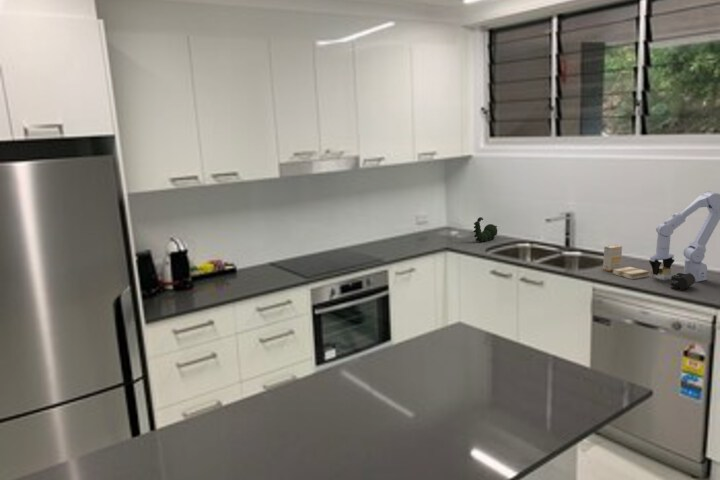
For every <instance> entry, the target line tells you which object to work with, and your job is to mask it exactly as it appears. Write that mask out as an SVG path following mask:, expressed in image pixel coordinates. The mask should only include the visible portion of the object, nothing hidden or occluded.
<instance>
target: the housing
mask: <svg viewBox="0 0 720 480" xmlns="http://www.w3.org/2000/svg"><path fill="white" fill-rule="evenodd" d="M671 273H672V268H671V267H670V268H667V267H663V265H660V267H659V272H658V275H655V274H653V270H652V269H651V272H650V278H654V279H657V280H660V281H667V280H671V278H672V274H671Z"/></svg>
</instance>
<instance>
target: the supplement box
mask: <svg viewBox="0 0 720 480" xmlns="http://www.w3.org/2000/svg"><path fill="white" fill-rule="evenodd" d="M622 253H623V246H622V245H619V244H612V245H604V247H603V265H602V267H603V268H602V270H604V271H608V272H611V271H612V272H613V269H618V268H622V256H623V255H622Z"/></svg>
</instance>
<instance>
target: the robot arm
mask: <svg viewBox="0 0 720 480" xmlns="http://www.w3.org/2000/svg"><path fill="white" fill-rule="evenodd" d="M700 208H707V210H708V215H707V216H706V218H705V220H704V222H703V223H702V226H701V227H700V229H699V231H698V233H697V234H696V236H695V238H694V240H693V241H692V242H690V243H689V244H688V246H687V247H685V248H684V250H683V256H684V257H685V258H684V265H683V274H688V273H691V274H692V275H693V276H694V277H695V282H696V283H697V282H702V281H707V280H708V278H707V273H708V266H707V264H705V263H704V262H702V261H704V259H705V254H706V251H707V248H706V245H707V243H708V241H709V240H710V238H711V237H712V234H713V233H714V230H715V229H716V227H717V226H718V223H719V222H720V193H717V192H712V191H709V190H708V191H704V192H702V193H701V194H700V195H699V196H697V197H696V198H695V200H693V201H692V202H691V203H689V204H688V205H687V206H686V207H685V208H684V209H683V210H682V211H680V212H676V213H672V214H671V216H670V217H669V218H668V219H667V220H664V221H663V223H659V224H658V225H657V227H656V228H655V231H656V233H657V239H656V249H655V254H654V255H653V256H650V258H649V261H648V262H649V264H650V266H651V271H652V270H653V274H655V275H658V272H659V267H660V266H662V267H667V268H671V267H672V265H673V264H674V263H675V259H674V257H675V255H674V254H672V253H670V248H671V247H670V246H671V237H672V236H671V235H673V234H674V232H675V230H676V229H677V228H679V227H680V226H681V225H682V224H683V223H685V222H686V219H687V217H689V216H690V215H692V214H693V213H694V212H696V211H697V210H699V209H700ZM660 261H662V262H660ZM662 264H663V265H662Z"/></svg>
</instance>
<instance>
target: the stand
mask: <svg viewBox="0 0 720 480" xmlns="http://www.w3.org/2000/svg"><path fill="white" fill-rule="evenodd" d="M612 274H613V275H616V276H619V277H623V278H626V279H631V280H636V279H641V278H647V277H649V276H650V271H649V270H646V269H641V268H637V267H633V266H624V267H621V268H618V269H613V271H612Z"/></svg>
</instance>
